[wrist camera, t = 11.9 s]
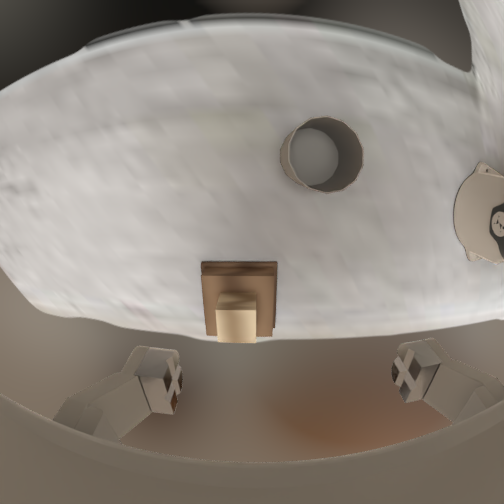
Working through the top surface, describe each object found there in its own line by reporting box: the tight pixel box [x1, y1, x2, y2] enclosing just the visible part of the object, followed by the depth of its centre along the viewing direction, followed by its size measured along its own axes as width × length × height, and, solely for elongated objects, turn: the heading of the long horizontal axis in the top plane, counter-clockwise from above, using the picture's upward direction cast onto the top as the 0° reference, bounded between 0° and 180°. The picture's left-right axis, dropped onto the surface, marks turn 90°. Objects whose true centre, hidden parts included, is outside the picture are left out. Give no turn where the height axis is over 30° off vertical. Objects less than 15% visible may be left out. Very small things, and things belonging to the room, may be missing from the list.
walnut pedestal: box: [201, 262, 277, 337], centre depth 41 cm, size 11×11×4 cm
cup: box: [280, 116, 364, 194], centre depth 31 cm, size 8×8×10 cm
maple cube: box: [216, 292, 256, 343], centre depth 36 cm, size 5×5×5 cm
